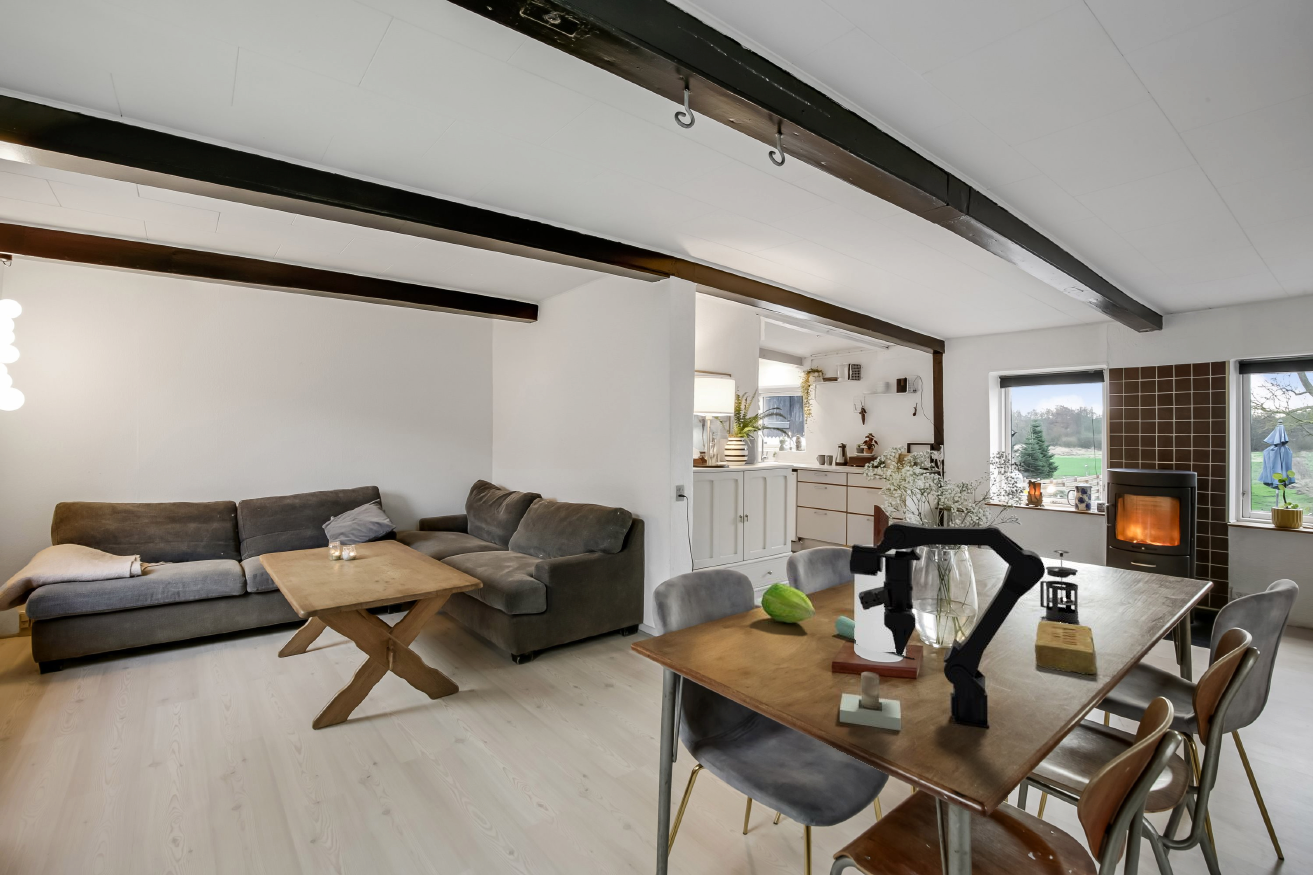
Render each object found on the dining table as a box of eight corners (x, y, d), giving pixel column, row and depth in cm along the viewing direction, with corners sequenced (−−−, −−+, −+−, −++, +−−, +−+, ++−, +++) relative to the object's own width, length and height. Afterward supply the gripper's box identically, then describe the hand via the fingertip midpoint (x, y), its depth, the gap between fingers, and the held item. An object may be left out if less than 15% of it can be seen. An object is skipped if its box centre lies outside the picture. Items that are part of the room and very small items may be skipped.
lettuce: (795, 635, 188) (795, 596, 188) (753, 619, 205) (753, 583, 205) (828, 628, 195) (828, 590, 195) (785, 613, 212) (785, 578, 212)
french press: (1086, 621, 202) (1086, 551, 202) (1072, 625, 197) (1071, 554, 197) (1048, 613, 212) (1048, 546, 212) (1034, 617, 207) (1033, 549, 207)
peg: (879, 714, 133) (879, 672, 133) (879, 721, 129) (879, 679, 129) (861, 711, 134) (861, 670, 134) (860, 719, 131) (860, 676, 131)
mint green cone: (908, 642, 166) (834, 617, 189) (908, 662, 166) (835, 635, 189) (921, 638, 168) (847, 614, 192) (921, 658, 168) (847, 632, 192)
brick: (1035, 671, 161) (1033, 644, 162) (1039, 643, 183) (1037, 619, 184) (1098, 678, 154) (1095, 650, 154) (1094, 648, 176) (1092, 623, 176)
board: (899, 712, 134) (899, 700, 134) (900, 730, 125) (900, 718, 125) (842, 704, 138) (842, 693, 138) (839, 721, 130) (839, 709, 130)
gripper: (862, 567, 149) (862, 631, 149) (859, 584, 132) (859, 657, 131) (911, 571, 145) (911, 636, 145) (915, 588, 128) (915, 663, 127)
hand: (898, 647), depth 137 cm, fingers open, 9 cm apart
